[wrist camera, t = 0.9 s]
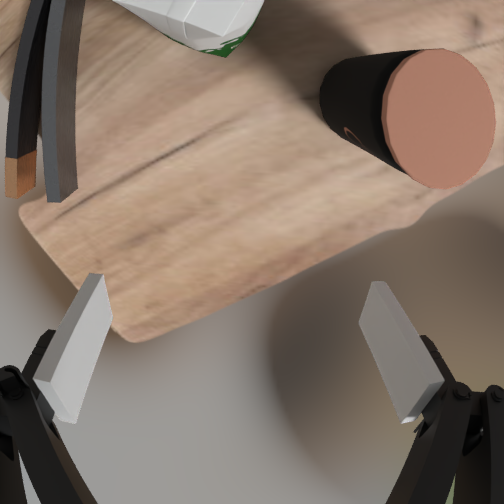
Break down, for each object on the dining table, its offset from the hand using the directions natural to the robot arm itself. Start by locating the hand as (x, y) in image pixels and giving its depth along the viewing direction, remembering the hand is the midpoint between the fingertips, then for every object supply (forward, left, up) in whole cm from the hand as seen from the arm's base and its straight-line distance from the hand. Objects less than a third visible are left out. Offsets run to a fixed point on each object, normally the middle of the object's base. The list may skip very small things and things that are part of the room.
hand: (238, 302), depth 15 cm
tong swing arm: (-10, -26, -25) cm, 38 cm away
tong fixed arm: (-12, -22, -25) cm, 36 cm away
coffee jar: (-10, +14, -25) cm, 31 cm away
